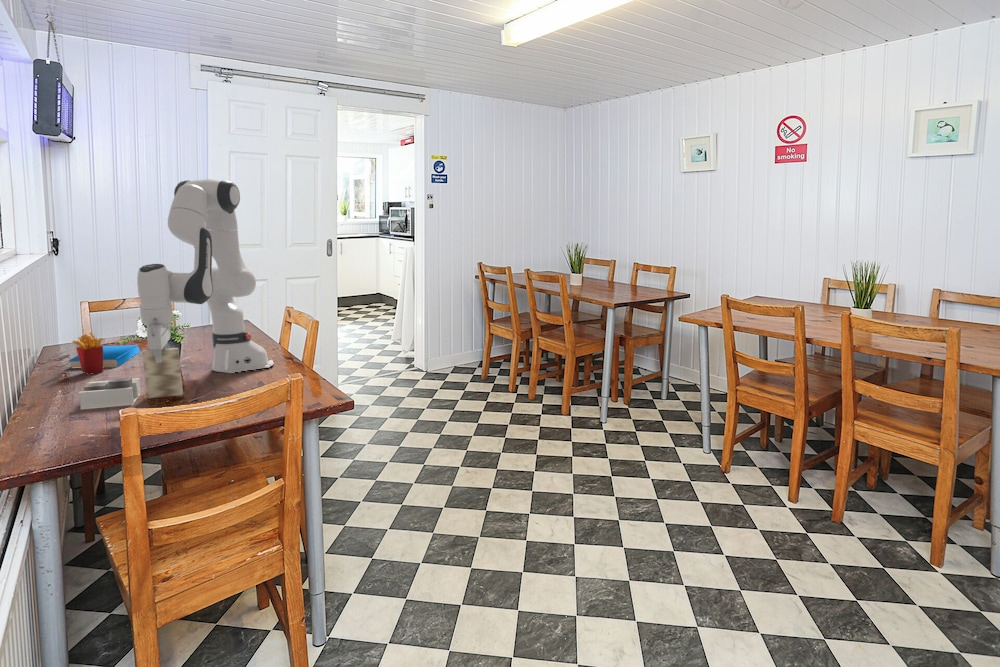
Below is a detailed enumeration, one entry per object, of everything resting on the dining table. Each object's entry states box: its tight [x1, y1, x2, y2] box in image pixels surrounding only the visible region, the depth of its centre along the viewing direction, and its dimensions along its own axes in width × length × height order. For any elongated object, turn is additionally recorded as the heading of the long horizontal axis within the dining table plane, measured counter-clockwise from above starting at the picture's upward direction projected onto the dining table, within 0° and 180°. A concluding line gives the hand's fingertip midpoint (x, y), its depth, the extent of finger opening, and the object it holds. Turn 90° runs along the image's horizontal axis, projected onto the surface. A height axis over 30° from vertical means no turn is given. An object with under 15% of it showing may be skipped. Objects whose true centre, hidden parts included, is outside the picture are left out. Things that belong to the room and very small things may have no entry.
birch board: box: [141, 347, 184, 399], centre depth 200 cm, size 10×2×16 cm, turn 110°
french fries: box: [72, 332, 104, 375], centre depth 233 cm, size 9×8×15 cm
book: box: [68, 344, 140, 368], centre depth 253 cm, size 17×4×25 cm
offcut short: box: [83, 382, 109, 391], centre depth 193 cm, size 6×4×6 cm
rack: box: [78, 377, 142, 411], centre depth 196 cm, size 14×14×6 cm
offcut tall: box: [108, 376, 134, 397], centre depth 195 cm, size 6×4×7 cm
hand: (161, 359), depth 199 cm, fingers open, 8 cm apart
